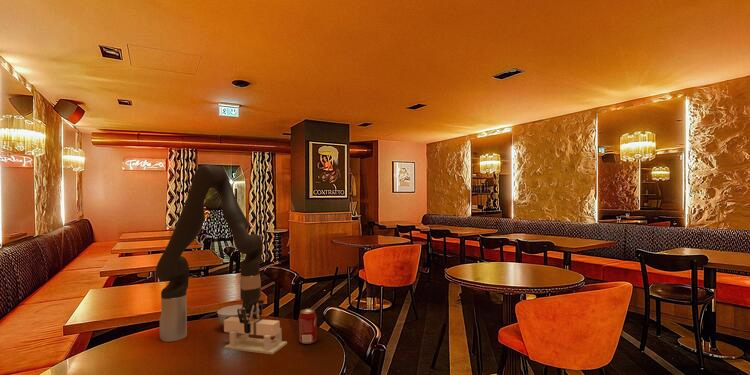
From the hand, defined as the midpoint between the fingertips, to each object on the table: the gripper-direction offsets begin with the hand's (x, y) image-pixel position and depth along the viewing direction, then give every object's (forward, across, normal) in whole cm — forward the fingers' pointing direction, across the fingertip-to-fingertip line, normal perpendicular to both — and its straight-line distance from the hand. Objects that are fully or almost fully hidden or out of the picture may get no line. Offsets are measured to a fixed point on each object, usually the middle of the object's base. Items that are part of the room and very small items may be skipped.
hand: (251, 330), depth 145 cm
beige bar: (+1, 0, 0) cm, 1 cm away
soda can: (+6, -9, +19) cm, 22 cm away
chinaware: (+6, -16, -20) cm, 26 cm away
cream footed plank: (+6, 0, +2) cm, 6 cm away
